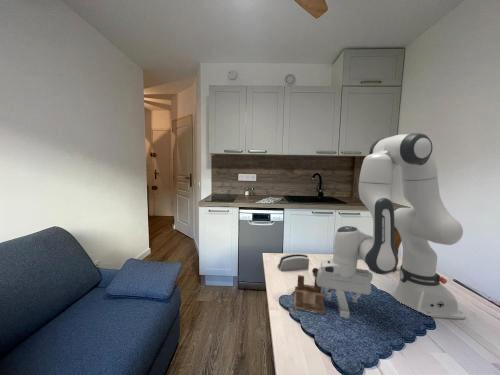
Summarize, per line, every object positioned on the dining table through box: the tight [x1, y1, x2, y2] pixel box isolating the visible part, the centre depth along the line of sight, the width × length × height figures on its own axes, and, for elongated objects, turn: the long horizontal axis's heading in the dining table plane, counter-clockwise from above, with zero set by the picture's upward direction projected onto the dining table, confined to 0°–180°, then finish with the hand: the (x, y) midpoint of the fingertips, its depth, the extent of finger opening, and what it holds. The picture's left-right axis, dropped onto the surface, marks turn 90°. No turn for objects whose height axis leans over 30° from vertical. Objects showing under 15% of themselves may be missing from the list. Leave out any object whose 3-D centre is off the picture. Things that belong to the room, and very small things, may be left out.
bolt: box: [311, 267, 319, 278], centre depth 107 cm, size 6×5×15 cm
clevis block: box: [292, 274, 326, 315], centre depth 91 cm, size 12×15×7 cm
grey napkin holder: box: [277, 252, 310, 271], centre depth 119 cm, size 17×5×10 cm, turn 101°
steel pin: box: [335, 289, 351, 320], centre depth 89 cm, size 3×16×3 cm, turn 165°
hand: (341, 299), depth 88 cm, fingers open, 8 cm apart
